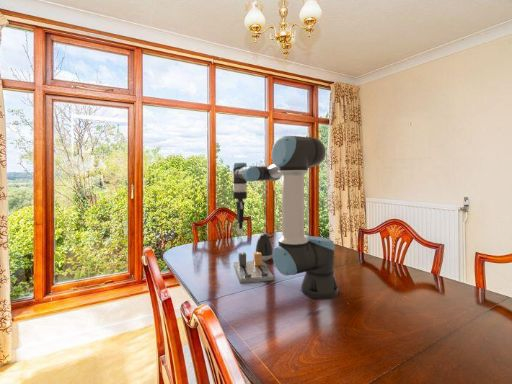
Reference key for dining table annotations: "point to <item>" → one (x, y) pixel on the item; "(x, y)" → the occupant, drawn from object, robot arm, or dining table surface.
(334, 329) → the dining table surface
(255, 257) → the fader orange
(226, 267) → the dining table surface
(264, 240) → the pump dispenser
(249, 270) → the console
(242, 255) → the fader graphite
